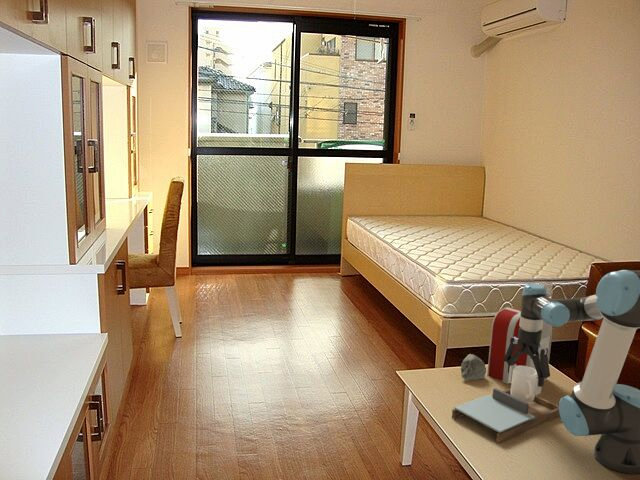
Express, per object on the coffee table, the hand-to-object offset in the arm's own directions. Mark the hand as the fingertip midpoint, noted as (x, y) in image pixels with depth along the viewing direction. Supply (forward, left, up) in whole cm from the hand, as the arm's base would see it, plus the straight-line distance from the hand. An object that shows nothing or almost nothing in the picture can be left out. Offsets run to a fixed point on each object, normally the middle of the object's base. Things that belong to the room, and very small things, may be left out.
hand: (524, 388), depth 221 cm
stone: (+29, -7, -9) cm, 31 cm away
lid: (0, +16, -5) cm, 16 cm away
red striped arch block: (+19, -22, -9) cm, 30 cm away
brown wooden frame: (0, +8, -9) cm, 12 cm away
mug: (-1, 0, -4) cm, 5 cm away
